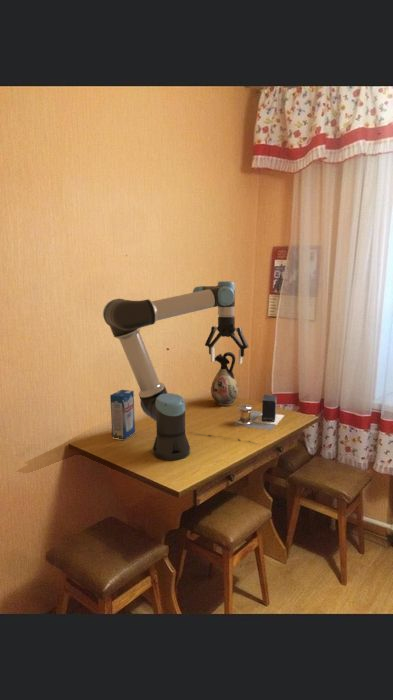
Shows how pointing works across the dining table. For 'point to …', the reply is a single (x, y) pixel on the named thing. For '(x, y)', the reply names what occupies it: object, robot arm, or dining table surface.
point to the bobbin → (244, 414)
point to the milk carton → (122, 414)
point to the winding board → (258, 422)
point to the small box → (269, 408)
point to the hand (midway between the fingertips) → (226, 362)
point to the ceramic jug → (224, 382)
